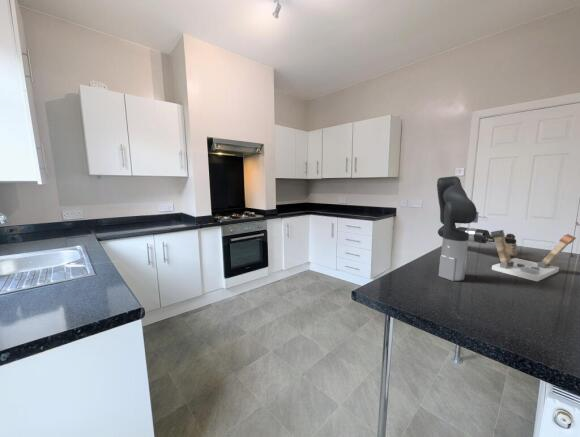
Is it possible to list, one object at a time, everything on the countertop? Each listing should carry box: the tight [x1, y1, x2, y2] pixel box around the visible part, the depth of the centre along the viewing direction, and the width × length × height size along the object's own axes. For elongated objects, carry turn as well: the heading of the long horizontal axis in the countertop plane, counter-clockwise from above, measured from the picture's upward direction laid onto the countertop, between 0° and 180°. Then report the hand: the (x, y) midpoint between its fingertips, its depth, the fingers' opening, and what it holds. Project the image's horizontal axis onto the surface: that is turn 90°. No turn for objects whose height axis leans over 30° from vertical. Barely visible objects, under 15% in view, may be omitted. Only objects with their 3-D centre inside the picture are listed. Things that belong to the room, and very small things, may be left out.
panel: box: [491, 257, 560, 282], centre depth 115 cm, size 24×16×4 cm, turn 118°
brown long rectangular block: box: [540, 233, 577, 266], centre depth 111 cm, size 6×3×17 cm, turn 118°
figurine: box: [505, 233, 518, 257], centre depth 140 cm, size 7×7×12 cm
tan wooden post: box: [490, 229, 512, 266], centre depth 115 cm, size 6×3×17 cm, turn 118°
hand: (515, 241), depth 123 cm, fingers closed
